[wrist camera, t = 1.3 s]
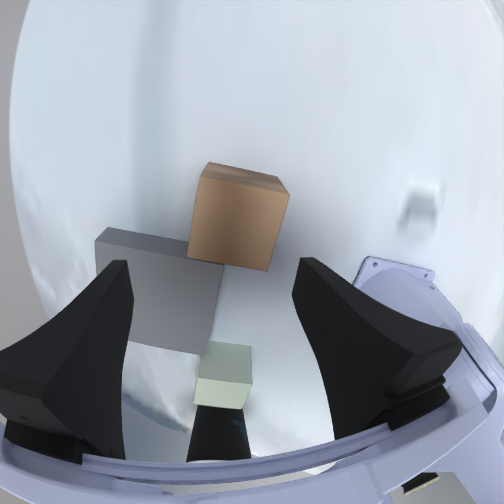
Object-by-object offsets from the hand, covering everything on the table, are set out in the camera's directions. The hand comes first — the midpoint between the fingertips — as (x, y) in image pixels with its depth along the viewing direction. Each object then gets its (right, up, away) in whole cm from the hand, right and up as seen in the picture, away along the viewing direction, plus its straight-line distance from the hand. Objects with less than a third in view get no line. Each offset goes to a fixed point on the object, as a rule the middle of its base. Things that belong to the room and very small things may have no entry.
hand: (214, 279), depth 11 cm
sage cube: (-2, -10, +17) cm, 20 cm away
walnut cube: (0, +5, +9) cm, 10 cm away
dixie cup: (-3, -17, +20) cm, 27 cm away
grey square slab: (-7, -2, +12) cm, 14 cm away
